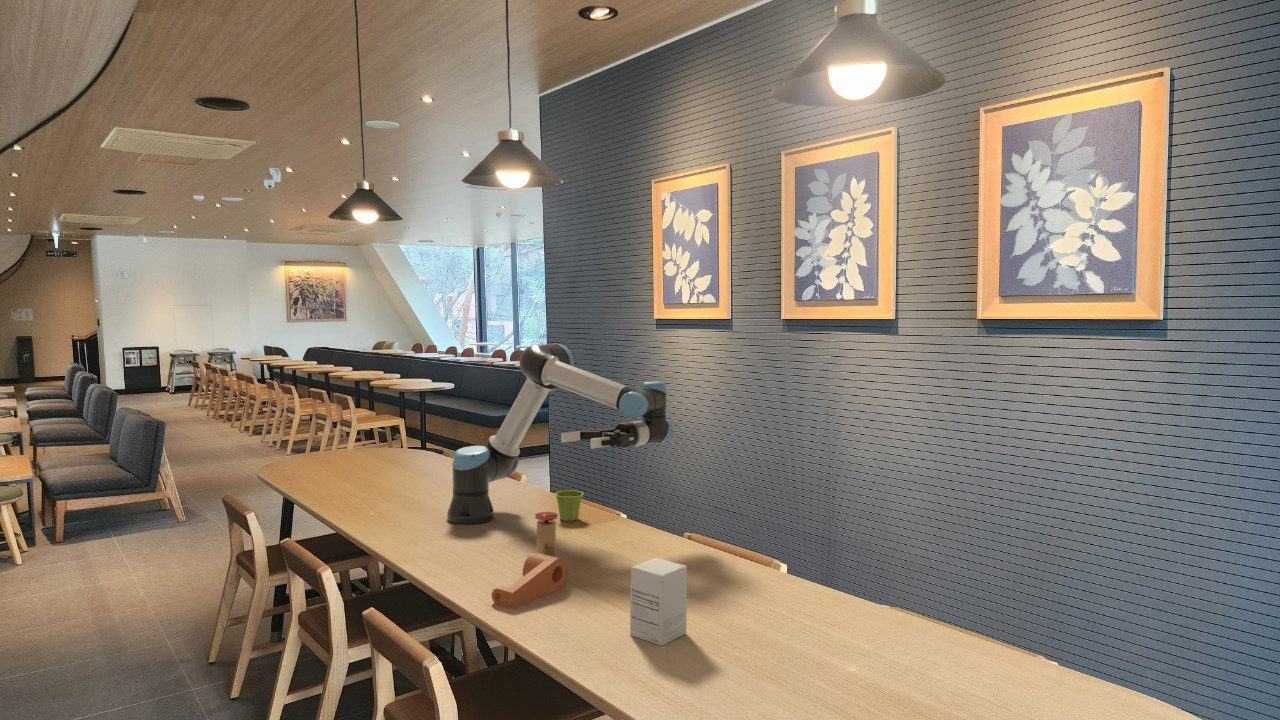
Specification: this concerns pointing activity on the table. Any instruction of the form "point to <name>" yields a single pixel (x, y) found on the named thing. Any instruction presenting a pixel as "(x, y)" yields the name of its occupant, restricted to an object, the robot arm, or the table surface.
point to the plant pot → (569, 504)
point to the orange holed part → (533, 581)
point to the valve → (546, 532)
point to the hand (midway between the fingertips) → (576, 440)
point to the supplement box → (658, 601)
